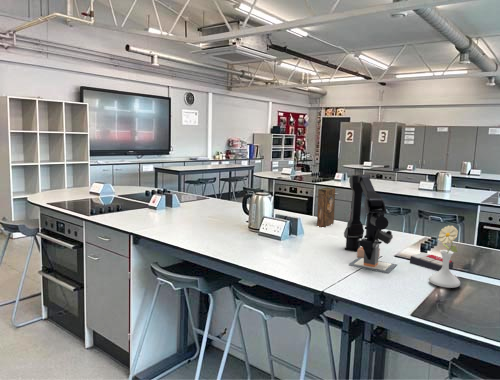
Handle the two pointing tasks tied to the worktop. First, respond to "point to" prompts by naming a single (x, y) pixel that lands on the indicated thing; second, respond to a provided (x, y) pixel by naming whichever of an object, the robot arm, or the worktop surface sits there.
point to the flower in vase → (446, 260)
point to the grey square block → (372, 257)
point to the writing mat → (380, 267)
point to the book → (325, 207)
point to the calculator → (429, 261)
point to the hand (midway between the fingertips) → (371, 258)
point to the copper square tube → (362, 252)
